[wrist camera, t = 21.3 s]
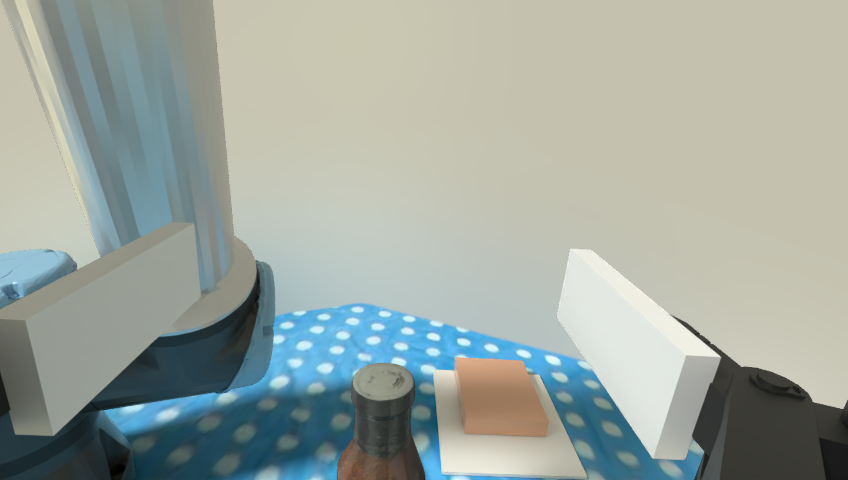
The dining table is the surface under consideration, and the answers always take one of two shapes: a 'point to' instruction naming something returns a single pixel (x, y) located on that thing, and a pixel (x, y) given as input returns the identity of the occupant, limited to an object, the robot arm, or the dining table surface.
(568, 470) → the white mat
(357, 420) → the sauce bottle
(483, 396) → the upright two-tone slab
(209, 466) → the dining table surface
